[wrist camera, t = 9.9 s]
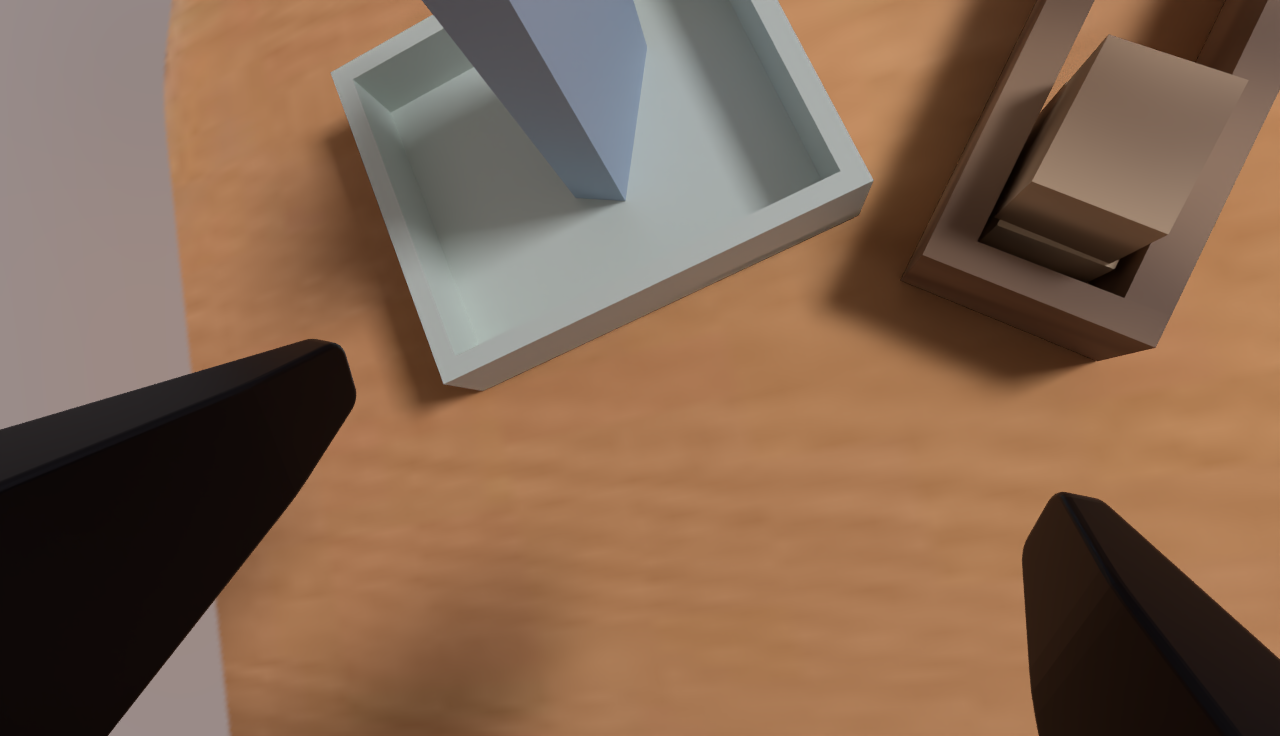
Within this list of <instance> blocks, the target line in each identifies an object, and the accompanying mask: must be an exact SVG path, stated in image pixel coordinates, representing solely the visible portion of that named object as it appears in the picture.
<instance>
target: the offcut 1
mask: <svg viewBox="0 0 1280 736" xmlns="http://www.w3.org/2000/svg"><path fill="white" fill-rule="evenodd" d="M1066 84H1067V82H1066V83H1065V84H1064V85H1063V87H1064V86H1065V85H1066ZM1063 87H1062V88H1063ZM1062 88H1061V89H1062ZM1061 89H1060V90H1059V91H1058V93H1057V94H1056V95H1055V96H1054V97H1053V98H1052V100H1051V101H1050V102H1049V103H1048V104H1047V105H1046V107H1045V108H1044V109H1043V110H1042V111H1041V113H1040V114H1039V115H1038V117H1037V119H1036V122H1035V124H1034V126H1033V128H1032V130H1031V132H1030V134H1029V136H1028V138H1027V140H1026V142H1025V144H1024V146H1023V148H1022V150H1021V152H1020V154H1019V156H1018V159H1017V161H1016V163H1015V165H1014V167H1013V169H1012V171H1011V173H1010V175H1009V177H1008V179H1007V181H1006V183H1005V185H1004V187H1003V189H1002V191H1001V193H1000V196H999V198H998V200H997V202H996V204H995V206H994V208H993V210H992V212H991V214H990V216H989V218H988V220H987V222H986V224H985V226H984V228H983V230H982V233H981V235H980V237H979V239H978V242H980V243H983V244H985V245H988V246H991V247H993V248H996V249H998V250H1001V251H1004V252H1006V253H1009V254H1011V255H1014V256H1016V257H1019V258H1022V259H1024V260H1027V261H1029V262H1032V263H1035V264H1037V265H1040V266H1042V267H1045V268H1048V269H1050V270H1053V271H1055V272H1058V273H1061V274H1063V275H1066V276H1068V277H1071V278H1074V279H1076V280H1079V281H1081V282H1084V283H1087V282H1089V281H1091V280H1093V279H1095V278H1097V277H1100V276H1102V275H1104V274H1106V273H1108V272H1110V271H1112V270H1114V269H1115V267H1116V265H1117V263H1118V261H1119V260H1117V261H1115V262H1113V263H1111V264H1109V263H1106V262H1104V261H1102V260H1099V259H1097V258H1094V257H1092V256H1089V255H1087V254H1084V253H1082V252H1079V251H1077V250H1074V249H1072V248H1070V247H1067V246H1065V245H1062V244H1060V243H1057V242H1055V241H1052V240H1050V239H1047V238H1045V237H1042V236H1040V235H1038V234H1035V233H1033V232H1030V231H1028V230H1025V229H1023V228H1020V227H1018V226H1015V225H1013V224H1010V223H1008V222H1006V221H1003V220H1001V219H998V218H996V217H995V215H996V213H997V211H998V209H999V207H1000V205H1001V203H1002V201H1003V200H1004V198H1005V196H1006V194H1007V192H1008V190H1009V188H1010V186H1011V184H1012V182H1013V180H1014V179H1015V177H1016V175H1017V173H1018V171H1019V169H1020V167H1021V165H1022V163H1023V161H1024V159H1025V158H1026V156H1027V154H1028V152H1029V150H1030V148H1031V146H1032V144H1033V142H1034V140H1035V138H1036V137H1037V135H1038V133H1039V131H1040V129H1041V127H1042V125H1043V123H1044V121H1045V119H1046V117H1047V116H1048V114H1049V112H1050V110H1051V108H1052V106H1053V104H1054V102H1055V100H1056V98H1057V96H1058V95H1059V93H1060V91H1061Z"/></svg>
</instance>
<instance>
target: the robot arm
mask: <svg viewBox="0 0 1280 736" xmlns="http://www.w3.org/2000/svg"><path fill="white" fill-rule="evenodd" d="M355 401H356V388H355V385H354V381H353V378H352V375H351V371H350V368H349V364H348V361H347V357H346V354H345V352H344V350H343V349H342V347H341V346H340V345H338V344H336V343H333V342H328V341H323V340H318V339H307V340H303V341H300V342H297V343H293V344H290V345H287V346H283V347H280V348H276V349H273V350H270V351H266V352H263V353H259V354H256V355H253V356H249V357H246V358H242V359H239V360H236V361H232V362H229V363H225V364H222V365H219V366H215V367H212V368H208V369H205V370H202V371H198V372H195V373H191V374H188V375H185V376H181V377H178V378H174V379H171V380H168V381H164V382H161V383H158V384H154V385H151V386H148V387H144V388H141V389H137V390H134V391H130V392H127V393H124V394H120V395H117V396H113V397H110V398H106V399H103V400H100V401H96V402H93V403H89V404H86V405H83V406H80V407H76V408H72V409H69V410H66V411H63V412H59V413H56V414H52V415H49V416H46V417H42V418H39V419H35V420H32V421H28V422H25V423H22V424H19V425H15V426H11V427H8V428H5V429H1V430H0V736H108V735H109V734H110V732H111V731H112V730H113V729H114V727H115V726H116V725H117V723H118V722H119V721H120V720H121V718H122V717H123V716H124V715H125V713H126V712H127V711H128V709H129V708H130V707H131V706H132V704H133V703H134V702H135V700H136V699H137V698H138V697H139V695H140V694H141V693H142V692H143V690H144V689H145V688H146V686H147V685H148V684H149V683H150V681H151V680H152V679H153V677H154V676H155V675H156V674H157V673H158V671H159V670H160V669H161V667H162V666H163V665H164V664H165V662H166V661H167V660H168V659H169V657H170V656H171V655H172V654H173V652H174V651H175V650H176V648H177V647H178V646H179V645H180V643H181V642H182V641H183V640H184V638H185V637H186V636H187V634H188V633H189V632H190V631H191V629H192V628H193V627H194V626H195V624H196V623H197V622H198V620H199V619H200V618H201V617H202V615H203V614H204V613H205V611H206V610H207V609H208V608H209V606H210V605H211V604H212V603H213V601H214V600H215V599H216V598H217V596H218V595H219V594H220V593H221V591H222V590H223V589H224V587H225V586H226V585H227V584H228V582H229V581H230V580H231V579H232V577H233V576H234V575H235V573H236V572H237V571H238V570H239V568H240V567H241V566H242V565H243V563H244V562H245V561H246V559H247V558H248V557H249V556H250V554H251V553H252V552H253V551H254V549H255V548H256V547H257V545H258V544H259V543H260V542H261V540H262V539H263V538H264V537H265V535H266V534H267V533H268V532H269V530H270V529H271V528H272V526H273V525H274V524H275V523H276V521H277V520H278V519H279V518H280V516H281V515H282V514H283V512H284V511H285V510H286V509H287V507H288V506H289V505H290V503H291V502H292V501H293V499H294V498H295V497H296V495H297V494H298V492H299V491H300V489H301V488H302V486H303V485H304V483H305V482H306V481H307V479H308V477H309V476H310V474H311V473H312V471H313V470H314V468H315V466H316V465H317V463H318V462H319V460H320V459H321V457H322V456H323V454H324V452H325V451H326V449H327V448H328V446H329V445H330V443H331V442H332V440H333V438H334V437H335V435H336V434H337V432H338V431H339V429H340V427H341V426H342V424H343V423H344V421H345V420H346V418H347V417H348V415H349V413H350V412H351V410H352V409H353V407H354V404H355ZM1022 568H1023V583H1024V599H1025V614H1026V629H1027V644H1028V659H1029V673H1030V684H1031V694H1032V700H1033V706H1034V712H1035V718H1036V724H1037V729H1038V734H1039V736H1280V659H1279V658H1278V657H1277V656H1276V655H1275V654H1273V653H1272V652H1271V651H1270V650H1269V649H1268V648H1267V647H1266V646H1264V645H1263V644H1262V643H1261V642H1260V641H1259V640H1258V639H1257V638H1256V637H1254V636H1253V635H1252V634H1251V633H1250V632H1249V631H1248V630H1247V629H1246V628H1244V627H1243V626H1242V625H1241V624H1240V623H1239V622H1238V621H1237V620H1235V619H1234V618H1233V617H1232V616H1231V615H1230V614H1229V613H1228V612H1227V611H1225V610H1224V609H1223V608H1222V607H1221V606H1220V605H1219V604H1218V603H1217V602H1215V601H1214V600H1213V599H1212V598H1211V597H1210V596H1209V595H1208V594H1207V593H1205V592H1204V591H1203V590H1202V589H1201V588H1200V587H1199V586H1198V585H1196V584H1195V583H1194V582H1193V581H1192V580H1191V579H1190V578H1189V577H1188V576H1186V575H1185V574H1184V573H1183V572H1182V571H1181V570H1180V569H1179V568H1178V567H1176V566H1175V565H1174V564H1173V563H1172V562H1171V561H1170V560H1169V559H1167V558H1166V557H1165V556H1164V555H1163V554H1162V553H1161V552H1160V551H1159V550H1157V549H1156V548H1155V547H1154V546H1153V545H1152V544H1151V543H1150V542H1149V541H1147V540H1146V539H1145V538H1144V537H1143V536H1142V535H1141V534H1140V533H1139V532H1137V531H1136V530H1135V529H1134V528H1133V527H1132V526H1131V525H1130V524H1128V523H1127V522H1126V521H1125V520H1124V519H1123V518H1122V517H1121V516H1120V515H1118V514H1117V513H1116V512H1115V511H1114V510H1113V509H1112V508H1111V507H1110V506H1108V505H1107V504H1106V503H1105V502H1103V501H1101V500H1099V499H1096V498H1092V497H1087V496H1082V495H1077V494H1072V493H1067V492H1060V493H1056V494H1055V495H1054V496H1052V497H1051V499H1050V500H1049V501H1048V503H1047V505H1046V506H1045V508H1044V510H1043V512H1042V513H1041V515H1040V517H1039V519H1038V520H1037V522H1036V524H1035V526H1034V527H1033V529H1032V531H1031V533H1030V534H1029V536H1028V538H1027V540H1026V542H1025V545H1024V548H1023V554H1022Z"/></svg>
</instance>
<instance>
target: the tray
mask: <svg viewBox="0 0 1280 736" xmlns="http://www.w3.org/2000/svg"><path fill="white" fill-rule="evenodd" d="M633 1H634V4H635V7H636V11H637V14H638V17H639V21H640V24H641V28H642V31H643V34H644V38H645V41H646V44H647V52H646V59H645V66H644V73H643V81H642V88H641V95H640V102H639V109H638V116H637V123H636V130H635V137H634V144H633V151H632V159H631V166H630V173H629V180H628V187H627V194H626V201H616V200H600V199H583V198H575V196H574V195H573V194H572V193H571V191H570V190H569V189H568V187H567V186H566V185H565V184H564V182H563V181H562V180H561V178H560V177H559V176H558V175H557V173H556V172H555V171H554V169H553V168H552V167H551V166H550V164H549V163H548V162H547V160H546V159H545V158H544V157H543V155H542V154H541V153H540V151H539V150H538V149H537V148H536V146H535V145H534V144H533V142H532V141H531V140H530V139H529V137H528V136H527V135H526V133H525V132H524V131H523V130H522V128H521V127H520V126H519V124H518V123H517V122H516V121H515V119H514V118H513V117H512V115H511V114H510V113H509V112H508V110H507V109H506V108H505V106H504V105H503V104H502V103H501V101H500V100H499V99H498V97H497V96H496V95H495V94H494V92H493V91H492V90H491V88H490V87H489V86H488V85H487V83H486V82H485V81H484V79H483V78H482V77H481V76H480V74H479V73H478V72H477V70H476V69H475V68H474V67H473V65H472V64H471V63H470V61H469V60H468V59H467V58H466V56H465V55H464V54H463V52H462V51H461V50H460V49H459V47H458V46H457V45H456V43H455V42H454V41H453V40H452V38H451V37H450V36H449V34H448V33H447V32H446V31H445V29H444V28H443V27H442V25H441V24H440V23H439V22H438V20H437V19H436V18H435V16H434V15H431V16H430V17H428V18H426V19H424V20H423V21H421V22H419V23H417V24H416V25H414V26H412V27H410V28H409V29H407V30H405V31H403V32H401V33H400V34H398V35H396V36H394V37H393V38H391V39H389V40H387V41H386V42H384V43H382V44H380V45H378V46H377V47H375V48H373V49H371V50H370V51H368V52H366V53H364V54H363V55H361V56H359V57H357V58H355V59H354V60H352V61H350V62H348V63H347V64H345V65H343V66H341V67H340V68H338V69H336V70H334V71H333V72H331V75H332V78H333V81H334V83H335V86H336V89H337V92H338V94H339V97H340V100H341V103H342V105H343V108H344V111H345V114H346V116H347V119H348V122H349V125H350V127H351V130H352V133H353V136H354V138H355V141H356V144H357V147H358V150H359V152H360V155H361V158H362V161H363V163H364V166H365V169H366V172H367V174H368V177H369V180H370V183H371V185H372V188H373V191H374V194H375V196H376V199H377V202H378V205H379V207H380V210H381V213H382V216H383V218H384V221H385V224H386V227H387V229H388V232H389V235H390V238H391V240H392V243H393V246H394V249H395V252H396V254H397V257H398V260H399V263H400V265H401V268H402V271H403V274H404V276H405V279H406V282H407V285H408V287H409V290H410V293H411V296H412V298H413V301H414V304H415V307H416V309H417V312H418V315H419V318H420V320H421V323H422V326H423V329H424V331H425V334H426V337H427V340H428V342H429V345H430V348H431V351H432V354H433V356H434V359H435V362H436V365H437V367H438V370H439V373H440V376H441V378H442V381H443V384H445V385H451V386H457V387H463V388H468V389H474V390H480V391H484V390H486V389H488V388H490V387H493V386H495V385H497V384H499V383H501V382H503V381H505V380H508V379H510V378H512V377H514V376H516V375H518V374H520V373H523V372H525V371H527V370H529V369H531V368H533V367H535V366H537V365H540V364H542V363H544V362H546V361H548V360H550V359H552V358H555V357H557V356H559V355H561V354H563V353H565V352H567V351H570V350H572V349H574V348H576V347H578V346H580V345H582V344H585V343H587V342H589V341H591V340H593V339H595V338H597V337H599V336H602V335H604V334H606V333H608V332H610V331H612V330H614V329H617V328H619V327H621V326H623V325H625V324H627V323H629V322H632V321H634V320H636V319H638V318H640V317H642V316H644V315H646V314H649V313H651V312H653V311H655V310H657V309H659V308H661V307H664V306H666V305H668V304H670V303H672V302H674V301H676V300H679V299H681V298H683V297H685V296H687V295H689V294H691V293H694V292H696V291H698V290H700V289H702V288H704V287H706V286H708V285H711V284H713V283H715V282H717V281H719V280H721V279H723V278H726V277H728V276H730V275H732V274H734V273H736V272H738V271H741V270H743V269H745V268H747V267H749V266H751V265H753V264H756V263H758V262H760V261H762V260H764V259H766V258H768V257H770V256H773V255H775V254H777V253H779V252H781V251H783V250H785V249H788V248H790V247H792V246H794V245H796V244H798V243H800V242H803V241H805V240H807V239H809V238H811V237H813V236H815V235H818V234H820V233H822V232H824V231H826V230H828V229H830V228H832V227H835V226H837V225H839V224H841V223H843V222H845V221H847V220H850V219H852V218H854V217H856V216H858V215H859V214H860V211H861V209H862V206H863V204H864V202H865V199H866V197H867V195H868V192H869V190H870V188H871V185H872V183H873V181H874V180H873V178H872V177H871V175H870V173H869V171H868V169H867V167H866V165H865V163H864V162H863V160H862V158H861V156H860V154H859V152H858V150H857V148H856V147H855V145H854V143H853V141H852V139H851V137H850V135H849V133H848V132H847V130H846V128H845V126H844V124H843V122H842V120H841V118H840V117H839V115H838V113H837V111H836V109H835V107H834V105H833V103H832V102H831V100H830V98H829V96H828V94H827V92H826V90H825V88H824V87H823V85H822V83H821V81H820V79H819V77H818V75H817V73H816V72H815V70H814V68H813V66H812V64H811V62H810V60H809V58H808V57H807V55H806V53H805V51H804V49H803V47H802V45H801V43H800V42H799V40H798V38H797V36H796V34H795V32H794V30H793V28H792V27H791V25H790V23H789V21H788V19H787V17H786V15H785V13H784V12H783V10H782V8H781V6H780V4H779V2H778V0H633Z"/></svg>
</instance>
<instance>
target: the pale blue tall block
mask: <svg viewBox="0 0 1280 736" xmlns="http://www.w3.org/2000/svg"><path fill="white" fill-rule="evenodd" d="M422 1H423V2H424V4H425V5H426V6H427V7H428V9H429V10H430V11H431V13H432V14H433V15H434V16H435V18H436V19H437V20H438V22H439V23H440V24H441V25H442V27H443V28H444V29H445V31H446V32H447V33H448V34H449V36H450V37H451V38H452V40H453V41H454V42H455V43H456V45H457V46H458V47H459V49H460V50H461V51H462V52H463V54H464V55H465V56H466V58H467V59H468V60H469V61H470V63H471V64H472V65H473V67H474V68H475V69H476V70H477V72H478V73H479V74H480V76H481V77H482V78H483V79H484V81H485V82H486V83H487V85H488V86H489V87H490V88H491V90H492V91H493V92H494V94H495V95H496V96H497V97H498V99H499V100H500V101H501V103H502V104H503V105H504V106H505V108H506V109H507V110H508V112H509V113H510V114H511V115H512V117H513V118H514V119H515V121H516V122H517V123H518V124H519V126H520V127H521V128H522V130H523V131H524V132H525V133H526V135H527V136H528V137H529V139H530V140H531V141H532V142H533V144H534V145H535V146H536V148H537V149H538V150H539V151H540V153H541V154H542V155H543V157H544V158H545V159H546V160H547V162H548V163H549V164H550V166H551V167H552V168H553V169H554V171H555V172H556V173H557V175H558V176H559V177H560V178H561V180H562V181H563V182H564V184H565V185H566V186H567V187H568V189H569V190H570V191H571V193H572V194H573V195H574V196H575V198H583V199H600V200H616V201H626V194H627V187H628V180H629V173H630V166H631V159H632V151H633V144H634V137H635V130H636V123H637V116H638V109H639V102H640V95H641V88H642V81H643V73H644V66H645V59H646V52H647V44H646V41H645V38H644V34H643V31H642V28H641V24H640V21H639V17H638V14H637V11H636V7H635V4H634V1H633V0H422Z"/></svg>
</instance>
